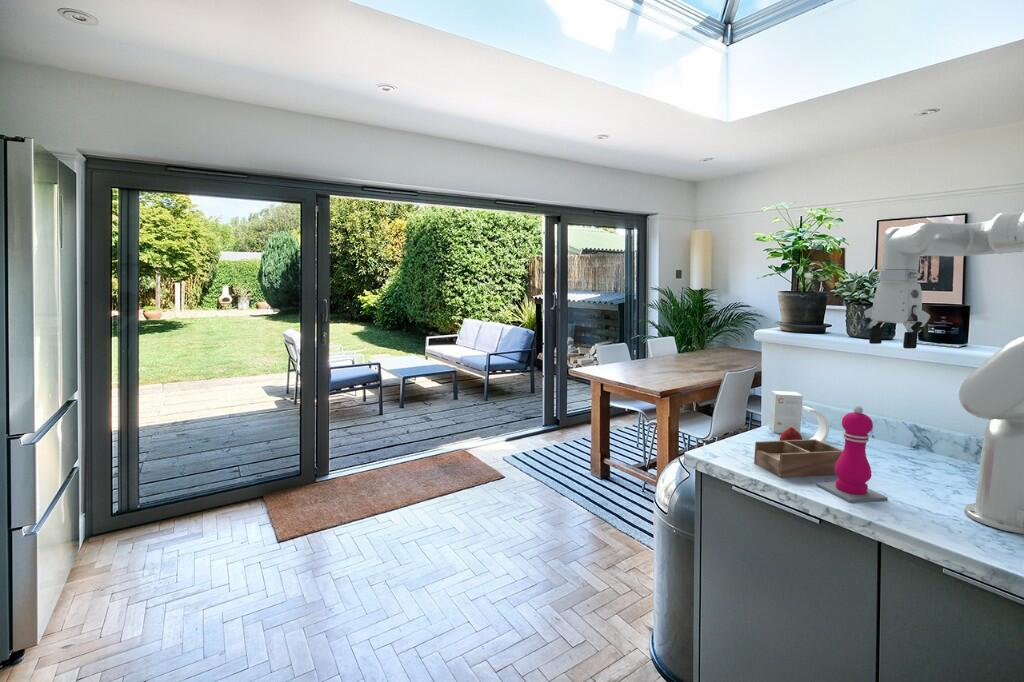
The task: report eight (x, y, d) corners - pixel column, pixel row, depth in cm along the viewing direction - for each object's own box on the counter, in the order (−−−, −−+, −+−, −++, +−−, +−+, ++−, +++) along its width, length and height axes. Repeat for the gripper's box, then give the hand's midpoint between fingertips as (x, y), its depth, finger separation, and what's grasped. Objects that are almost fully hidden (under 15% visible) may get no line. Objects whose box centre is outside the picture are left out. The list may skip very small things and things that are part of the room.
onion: (803, 452, 151) (806, 425, 150) (798, 457, 146) (800, 429, 145) (782, 448, 155) (784, 422, 154) (776, 452, 150) (778, 425, 149)
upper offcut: (798, 469, 133) (799, 462, 133) (778, 468, 133) (778, 461, 133) (786, 460, 140) (786, 453, 140) (766, 459, 140) (766, 453, 140)
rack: (844, 474, 134) (846, 451, 133) (780, 477, 131) (782, 454, 130) (813, 460, 144) (815, 439, 144) (754, 463, 141) (755, 441, 140)
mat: (887, 499, 118) (887, 497, 118) (849, 502, 116) (849, 499, 116) (851, 483, 128) (851, 480, 128) (815, 485, 126) (815, 482, 126)
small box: (794, 429, 175) (797, 391, 174) (800, 434, 169) (803, 395, 168) (768, 427, 177) (770, 390, 175) (773, 433, 171) (776, 394, 169)
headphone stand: (799, 444, 159) (802, 405, 158) (819, 445, 158) (823, 406, 157) (806, 449, 154) (809, 409, 153) (827, 449, 154) (831, 410, 152)
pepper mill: (875, 497, 118) (884, 410, 116) (840, 494, 119) (848, 408, 117) (861, 485, 125) (868, 403, 123) (828, 482, 126) (835, 401, 124)
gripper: (945, 277, 122) (937, 350, 123) (881, 278, 138) (875, 341, 140) (918, 277, 120) (911, 350, 122) (856, 277, 137) (851, 342, 139)
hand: (891, 345), depth 131 cm, fingers open, 9 cm apart
